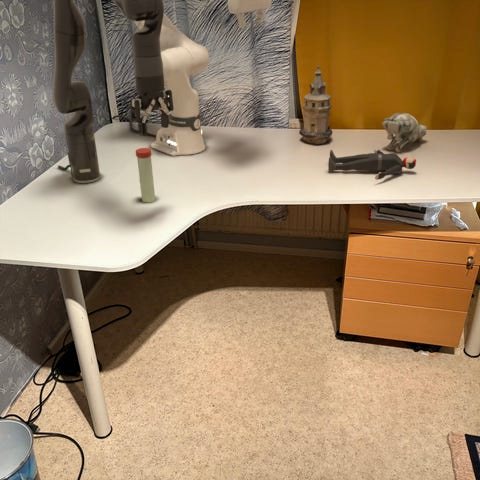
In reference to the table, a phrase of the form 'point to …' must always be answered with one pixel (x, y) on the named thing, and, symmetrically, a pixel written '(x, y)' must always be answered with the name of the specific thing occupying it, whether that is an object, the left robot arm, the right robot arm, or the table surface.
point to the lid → (143, 152)
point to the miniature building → (316, 112)
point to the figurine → (403, 130)
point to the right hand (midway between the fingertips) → (250, 25)
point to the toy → (371, 163)
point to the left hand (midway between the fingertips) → (154, 131)
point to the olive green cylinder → (146, 179)
